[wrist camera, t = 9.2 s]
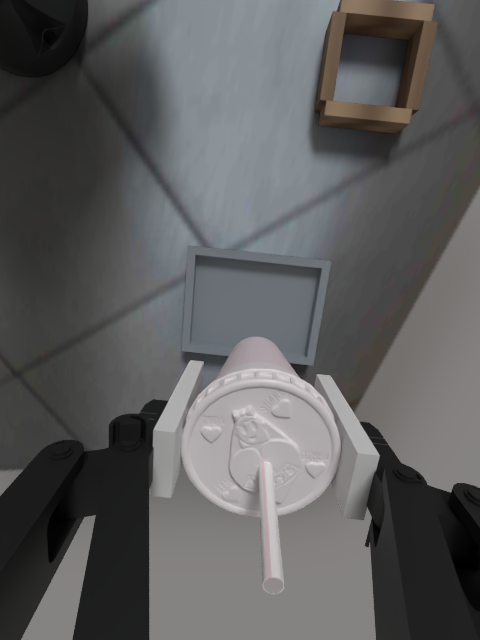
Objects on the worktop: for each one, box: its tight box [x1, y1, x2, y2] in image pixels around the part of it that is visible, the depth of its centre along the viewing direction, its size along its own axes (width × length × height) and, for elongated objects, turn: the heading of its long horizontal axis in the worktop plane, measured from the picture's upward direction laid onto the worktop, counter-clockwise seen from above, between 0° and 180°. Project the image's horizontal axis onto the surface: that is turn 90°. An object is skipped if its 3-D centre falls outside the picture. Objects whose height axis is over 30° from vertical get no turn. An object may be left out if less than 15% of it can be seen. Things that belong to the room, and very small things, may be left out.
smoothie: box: [181, 337, 341, 594], centre depth 14 cm, size 6×6×14 cm
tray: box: [182, 246, 331, 366], centre depth 40 cm, size 18×14×2 cm
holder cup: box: [315, 0, 438, 134], centre depth 33 cm, size 11×11×3 cm
